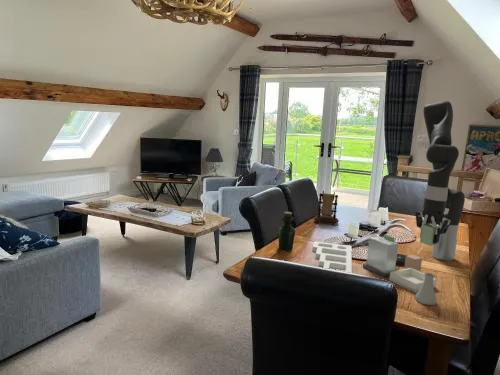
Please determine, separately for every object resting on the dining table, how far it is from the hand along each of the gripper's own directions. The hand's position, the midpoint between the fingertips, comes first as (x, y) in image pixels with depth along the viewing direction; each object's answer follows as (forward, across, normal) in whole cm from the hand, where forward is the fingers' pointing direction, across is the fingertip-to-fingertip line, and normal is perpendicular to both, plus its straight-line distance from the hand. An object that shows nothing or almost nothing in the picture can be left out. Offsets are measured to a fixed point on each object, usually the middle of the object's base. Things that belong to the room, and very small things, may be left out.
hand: (429, 241), depth 145 cm
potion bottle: (+18, -55, -27) cm, 64 cm away
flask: (+18, +10, -11) cm, 24 cm away
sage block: (+1, 0, 0) cm, 1 cm away
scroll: (+18, -86, +25) cm, 91 cm away
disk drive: (+18, -23, +11) cm, 31 cm away
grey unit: (+18, -17, -4) cm, 25 cm away
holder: (+19, -32, -20) cm, 42 cm away
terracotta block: (+18, -10, +7) cm, 22 cm away
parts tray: (+18, -2, -3) cm, 18 cm away
